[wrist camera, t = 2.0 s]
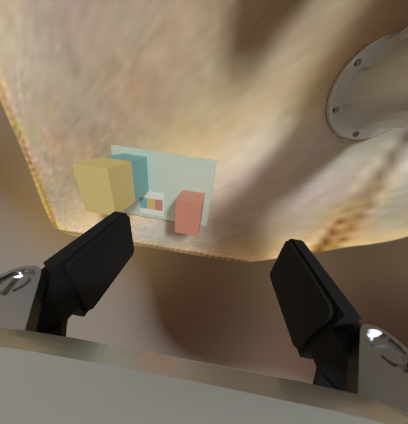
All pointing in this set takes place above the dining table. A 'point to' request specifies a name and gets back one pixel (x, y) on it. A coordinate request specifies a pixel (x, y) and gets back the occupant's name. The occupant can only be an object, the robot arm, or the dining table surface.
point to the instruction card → (152, 203)
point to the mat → (173, 179)
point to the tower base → (111, 182)
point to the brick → (189, 212)
